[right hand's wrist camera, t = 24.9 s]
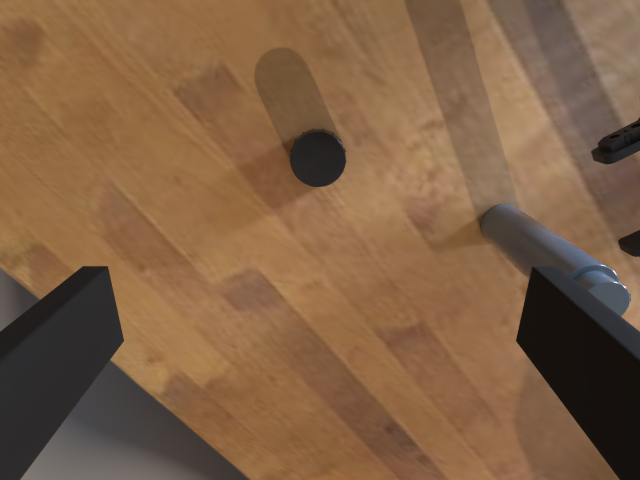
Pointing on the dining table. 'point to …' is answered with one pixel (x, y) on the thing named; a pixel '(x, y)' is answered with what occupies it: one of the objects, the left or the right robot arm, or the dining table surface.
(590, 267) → the bottle
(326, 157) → the lid
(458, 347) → the dining table surface
